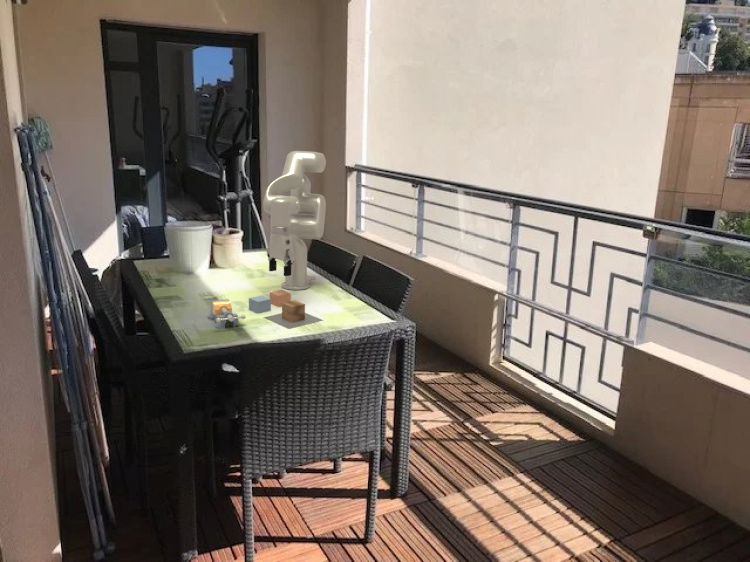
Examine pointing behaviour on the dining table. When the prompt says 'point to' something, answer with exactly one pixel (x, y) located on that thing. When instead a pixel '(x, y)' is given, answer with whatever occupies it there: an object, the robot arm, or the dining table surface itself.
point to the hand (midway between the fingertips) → (280, 273)
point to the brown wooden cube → (293, 311)
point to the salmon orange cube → (279, 297)
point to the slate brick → (259, 304)
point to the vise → (223, 313)
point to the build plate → (289, 325)
